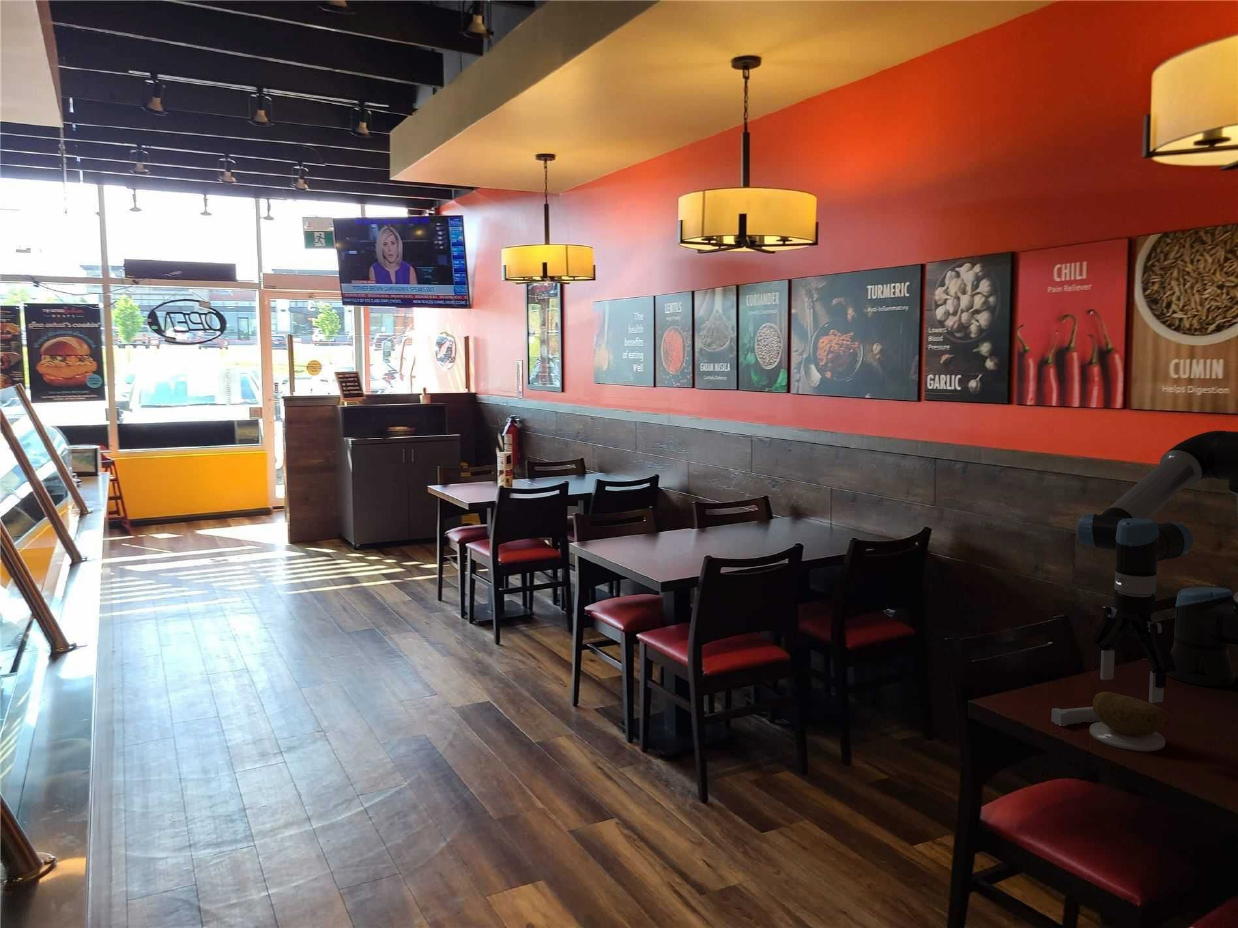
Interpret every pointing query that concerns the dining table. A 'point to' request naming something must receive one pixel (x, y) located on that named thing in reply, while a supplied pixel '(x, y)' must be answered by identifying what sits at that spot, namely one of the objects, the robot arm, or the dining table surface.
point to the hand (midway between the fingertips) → (1130, 689)
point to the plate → (1127, 739)
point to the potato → (1128, 714)
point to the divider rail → (1073, 716)
